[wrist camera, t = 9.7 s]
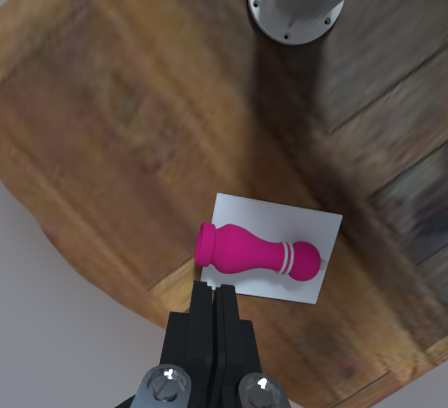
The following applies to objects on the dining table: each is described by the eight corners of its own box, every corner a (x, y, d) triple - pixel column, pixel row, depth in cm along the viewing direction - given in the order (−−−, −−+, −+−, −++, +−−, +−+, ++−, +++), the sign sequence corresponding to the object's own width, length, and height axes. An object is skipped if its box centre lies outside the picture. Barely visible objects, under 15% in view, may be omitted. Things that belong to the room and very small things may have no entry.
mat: (217, 192, 45) (217, 193, 45) (341, 214, 47) (342, 215, 47) (199, 285, 49) (199, 287, 49) (314, 302, 51) (315, 304, 51)
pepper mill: (198, 228, 47) (314, 248, 50) (191, 273, 44) (315, 292, 47) (206, 210, 41) (338, 236, 44) (198, 262, 38) (341, 285, 41)
